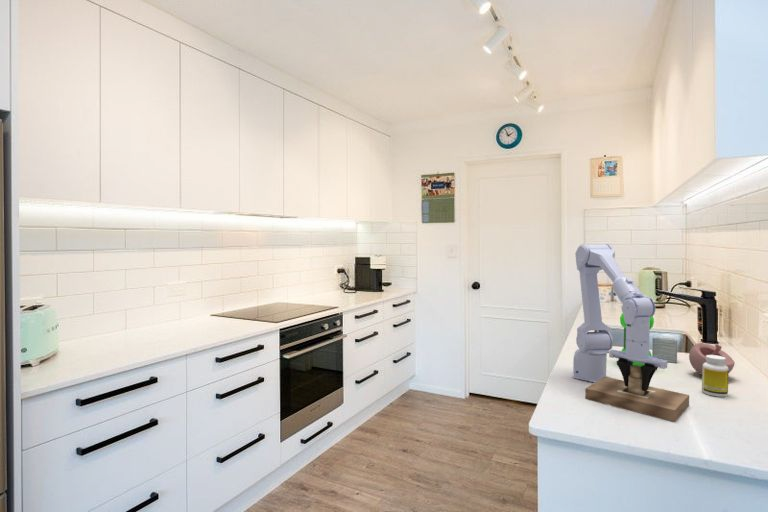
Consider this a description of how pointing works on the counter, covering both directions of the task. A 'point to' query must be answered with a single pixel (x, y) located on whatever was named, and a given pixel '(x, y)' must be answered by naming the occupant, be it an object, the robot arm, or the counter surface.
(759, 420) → the counter surface
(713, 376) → the pill bottle
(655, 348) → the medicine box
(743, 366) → the counter surface
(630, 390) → the beech peg
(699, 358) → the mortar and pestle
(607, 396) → the socket board
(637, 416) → the counter surface
